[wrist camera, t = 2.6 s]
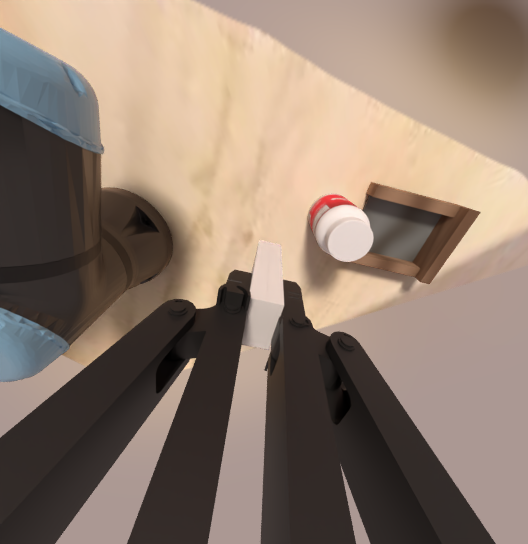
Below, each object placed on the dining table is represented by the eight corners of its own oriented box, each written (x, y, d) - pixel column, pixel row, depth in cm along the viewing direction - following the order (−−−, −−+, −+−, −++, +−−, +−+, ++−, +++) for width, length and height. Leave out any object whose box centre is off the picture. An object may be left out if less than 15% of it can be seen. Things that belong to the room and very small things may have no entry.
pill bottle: (359, 209, 33) (394, 235, 23) (330, 241, 35) (350, 278, 25) (326, 183, 31) (350, 200, 21) (298, 219, 34) (308, 248, 24)
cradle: (339, 253, 36) (346, 265, 33) (371, 182, 31) (383, 186, 27) (414, 271, 37) (429, 284, 33) (457, 204, 32) (480, 212, 28)
